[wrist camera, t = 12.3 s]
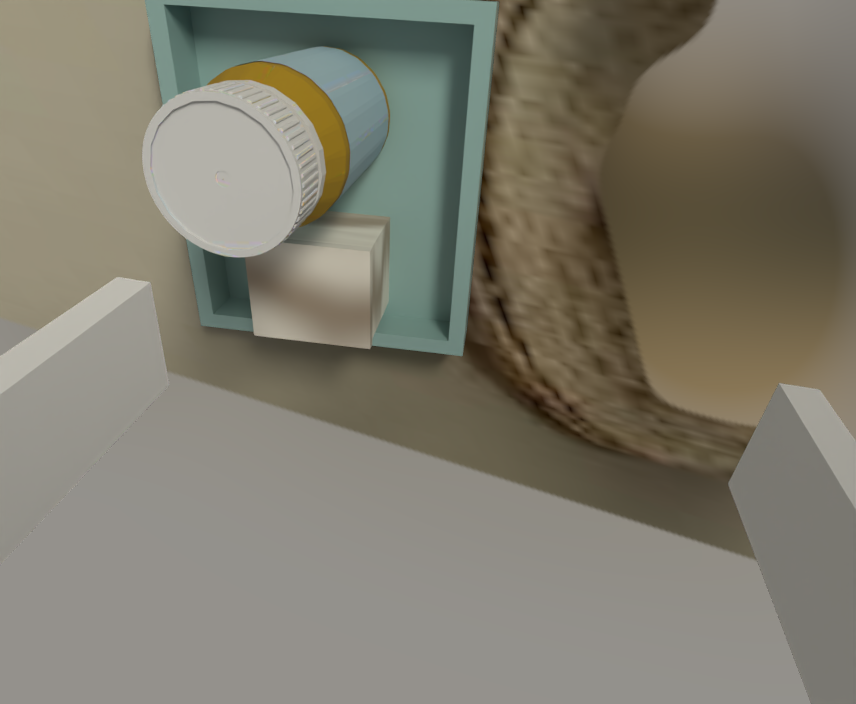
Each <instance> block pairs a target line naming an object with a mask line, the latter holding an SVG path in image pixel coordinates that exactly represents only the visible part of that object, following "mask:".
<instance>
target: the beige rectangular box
mask: <svg viewBox="0 0 856 704" xmlns="http://www.w3.org/2000/svg"><path fill="white" fill-rule="evenodd" d="M389 257H390V217H385V216H375V215H365V214H354V213H344V212H334V211H327V212H326V213H325V214H324V215H322V216H321V217H320V218H318V219H316V220H314V221H313V222H311V223H309V224H307V225H305V226H302V227H298V228H297V229H296V230H295V231H294V232H293V233H292V234H291V235H290V236H289V237H288V238H287V239H286V240H285V241H284V242H283V243H282V244H280V245H279V246H276V247H275V248H274V249H273V250H269V251H268V252H266V253H262V254H260V255H255V256H251V257H245V262H246V270H247V279H248V287H249V295H250V304H251V312H252V320H253V329H254V336H263V337H271V338H280V339H288V340H297V341H305V342H314V343H322V344H331V345H340V346H348V347H357V348H365V349H370V348H371V346H372V339H373V336H374V334H375V332H376V329H377V327H378V325H379V323H380V320H381V318H382V316H383V314H384V311H385V309H386V307H387V304H388V302H389Z"/></svg>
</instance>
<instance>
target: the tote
mask: <svg viewBox="0 0 856 704" xmlns="http://www.w3.org/2000/svg"><path fill="white" fill-rule="evenodd" d="M145 4H146V10H147V15H148V21H149V27H150V33H151V38H152V44H153V50H154V56H155V62H156V67H157V73H158V79H159V85H160V91H161V96H162V102H163V105H164V104H166V103H167V102H168V100H170V99H172V98H175V96H176V95H178V94H182V93H183V92H185V91H189V90H193V89H196V88H200V87H203V86H206V85H207V84H208V83H209V82H210V81H211V80H212V79H214V78H215V77H216V76H218V75H219V74H221V73H222V72H223V71H225V70H227V69H229V68H231V67H234V66H237V65H240V64H244V63H249V62H253V61H257V60H261V59H266V58H270V57H274V56H278V55H283V54H287V53H291V52H296V51H300V50H304V49H308V48H313V47H320V46H327V47H334V48H340V49H343V50H346V51H348V52H350V53H351V54H353V55H355V56H357V57H359V58H360V59H362V60H363V61H364V62H365V63H366V64H367V65H368V66H369V67H370V68H371V69H372V70H373V71H374V73H375V74H376V75H377V77H378V79H379V80H380V82H381V84H382V86H383V88H384V90H385V92H386V95H387V100H388V104H389V109H390V125H389V133H388V137H387V139H386V142H385V144H384V147H383V149H382V151H381V152H380V154H379V155H378V156H377V158H376V159H375V160H374V161H373V162H372V163H371V164H370V166H369V167H368V168H367V169H366V170H365V171H364V172H363V173H362V174H361V175H360V177H359V178H358V179H357V180H356V181H355V182H354V183H353V184H352V185H351V186H350V187H349V188H348V190H347V191H346V192H345V193H344V194H343V195H342V196H341V197H340V198H339V199H338V200H337V201H336V203H335V204H334V205H333V206H332V207H331V208H330V209H329V210H328V211H334V212H344V213H354V214H365V215H375V216H385V217H390V257H389V302H388V304H387V307H386V309H385V311H384V314H383V316H382V318H381V320H380V323H379V325H378V327H377V329H376V332H375V334H374V336H373V339H372V346H380V347H389V348H397V349H406V350H414V351H423V352H431V353H440V354H449V355H457V356H463V350H464V344H465V338H466V332H467V323H468V313H469V303H470V293H471V283H472V273H473V263H474V253H475V243H476V232H477V222H478V212H479V202H480V192H481V182H482V172H483V162H484V152H485V142H486V132H487V122H488V112H489V102H490V92H491V82H492V72H493V62H494V52H495V42H496V32H497V21H498V11H499V2H496V1H480V0H145ZM186 241H187V247H188V253H189V258H190V264H191V270H192V276H193V281H194V287H195V293H196V299H197V305H198V310H199V316H200V322H201V326H209V327H217V328H226V329H234V330H243V331H252V332H254V329H253V320H252V312H251V304H250V295H249V287H248V279H247V270H246V262H245V257H228V256H223V255H219V254H215V253H212V252H209V251H207V250H205V249H203V248H201V247H199V246H197V245H195V244H194V243H192V242H191V241H189V240H188V239H186Z"/></svg>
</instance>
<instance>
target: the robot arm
mask: <svg viewBox="0 0 856 704" xmlns="http://www.w3.org/2000/svg"><path fill="white" fill-rule="evenodd" d="M168 386H169V380H168V375H167V369H166V364H165V358H164V353H163V348H162V342H161V337H160V331H159V326H158V320H157V315H156V310H155V304H154V299H153V293H152V288H151V282H146V281H139V280H133V279H127V278H121V277H117V278H115V279H114V280H112V281H111V282H109V283H108V284H106V285H105V286H103V287H102V288H100V289H99V290H97V291H96V292H95V293H93V294H92V295H90V296H89V297H87V298H86V299H84V300H83V301H81V302H80V303H78V304H77V305H75V306H74V307H72V308H71V309H69V310H68V311H66V312H65V313H63V314H62V315H60V316H59V317H58V318H56V319H55V320H53V321H52V322H50V323H49V324H47V325H46V326H44V327H43V328H41V329H40V330H38V331H37V332H35V333H34V334H33V335H31V336H30V337H28V338H27V339H25V340H24V341H22V342H21V343H19V344H18V345H17V346H15V347H13V348H12V349H10V350H9V351H8V352H6V353H4V354H3V355H2V356H0V565H1V564H2V563H3V561H4V560H5V559H6V558H7V557H8V556H9V555H10V554H11V553H12V552H13V551H14V550H15V549H16V548H17V547H18V545H19V544H20V543H21V542H22V541H23V540H24V539H25V538H26V537H27V536H28V535H29V534H30V533H31V532H32V531H33V530H34V529H35V527H36V526H37V525H38V524H39V523H40V522H41V521H42V520H43V519H44V518H45V517H46V516H47V515H48V514H49V513H50V511H51V510H52V509H53V508H54V507H55V506H56V505H57V504H58V503H59V502H60V501H61V500H62V499H63V498H64V497H65V496H66V495H67V493H68V492H69V491H70V490H71V489H72V488H73V487H74V486H75V485H76V484H77V483H78V482H79V481H80V480H81V479H82V478H83V476H84V475H85V474H86V473H87V472H88V471H89V470H90V469H91V468H92V467H93V466H94V465H95V464H96V463H97V462H98V460H100V458H101V457H102V456H103V455H104V454H105V453H106V452H107V451H108V450H109V449H110V448H111V447H112V446H113V445H114V444H115V443H116V441H117V440H118V439H119V438H120V437H121V436H122V435H123V434H124V433H125V432H126V431H127V430H128V429H129V428H130V427H131V425H132V424H133V423H134V422H135V421H136V420H137V419H138V418H139V417H140V416H141V415H142V414H143V413H144V412H145V411H146V410H147V408H148V407H149V406H150V405H151V404H152V403H153V402H154V401H155V400H156V399H157V398H158V397H159V396H160V395H161V394H162V393H163V392H164V390H165V389H166V388H167V387H168ZM728 485H729V488H730V491H731V493H732V496H733V499H734V501H735V504H736V507H737V509H738V512H739V515H740V517H741V520H742V522H743V525H744V528H745V530H746V533H747V536H748V538H749V541H750V544H751V546H752V549H753V552H754V554H755V557H756V559H757V562H758V565H759V567H760V570H761V572H762V575H763V578H764V580H765V583H766V586H767V589H768V591H769V594H770V596H771V599H772V602H773V604H774V607H775V610H776V612H777V615H778V618H779V620H780V623H781V626H782V628H783V631H784V634H785V636H786V639H787V641H788V644H789V647H790V649H791V652H792V655H793V657H794V660H795V663H796V665H797V668H798V671H799V673H800V676H801V679H802V681H803V683H804V686H805V689H806V692H807V694H808V697H809V700H810V702H811V704H856V441H855V439H854V438H853V437H852V435H851V434H850V432H849V431H848V429H847V428H846V427H845V425H844V424H843V422H842V421H841V420H840V418H839V417H838V415H837V414H836V412H835V411H834V410H833V408H832V406H831V405H830V404H829V402H828V401H827V399H826V398H825V397H824V395H823V394H822V392H821V391H820V390H819V389H813V388H807V387H801V386H795V385H788V384H782V383H779V384H778V386H777V388H776V390H775V392H774V394H773V396H772V398H771V400H770V402H769V404H768V406H767V408H766V410H765V412H764V414H763V416H762V418H761V420H760V422H759V424H758V425H757V427H756V429H755V431H754V433H753V435H752V437H751V439H750V441H749V443H748V445H747V447H746V449H745V451H744V453H743V455H742V457H741V459H740V461H739V463H738V465H737V467H736V469H735V471H734V473H733V475H732V477H731V479H730V481H729V483H728Z"/></svg>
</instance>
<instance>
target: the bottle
mask: <svg viewBox="0 0 856 704" xmlns="http://www.w3.org/2000/svg"><path fill="white" fill-rule="evenodd" d="M389 125H390V109H389V104H388V100H387V95H386V92H385V90H384V88H383V86H382V84H381V82H380V80H379V79H378V77H377V75H376V74H375V73H374V71H373V70H372V69H371V68H370V67H369V66H368V65H367V64H366V63H365V62H364V61H363V60H362V59H360V58H359V57H357V56H355V55H353V54H351V53H350V52H348V51H346V50H343V49H340V48H334V47H327V46H320V47H313V48H308V49H304V50H300V51H296V52H291V53H287V54H283V55H278V56H274V57H270V58H266V59H261V60H257V61H253V62H249V63H244V64H240V65H237V66H234V67H231V68H229V69H227V70H225V71H223V72H222V73H221V74H219V75H218V76H216V77H215V78H214V79H212V80H211V81H210V82H209V83H208V84H207V85H206V86H203V87H200V88H196V89H193V90H189V91H185V92H183V93H182V94H178V95H176V96H175V98H172V99H170V100H168V102H167V103H166V104H164V105H162V107H161V108H160V109H159V110H158V111H157V112H156V114H155V115H154V117H153V118H152V120H151V122H150V124H149V126H148V128H147V131H146V134H145V137H144V142H143V149H142V162H143V170H144V175H145V179H146V183H147V186H148V189H149V191H150V194H151V196H152V198H153V200H154V202H155V204H156V205H157V207H158V209H159V210H160V212H161V213H162V214H163V216H164V217H165V218H166V220H167V221H168V222H169V223H170V224H171V225H172V226H173V227H174V228H175V229H176V230H177V231H178V232H179V233H180V234H181V235H182V236H184V237H185V238H186V239H188V240H189V241H191V242H192V243H194V244H195V245H197V246H199V247H201V248H203V249H205V250H207V251H209V252H212V253H215V254H219V255H223V256H228V257H251V256H255V255H260V254H262V253H266V252H268V251H269V250H273V249H274V248H275V247H276V246H279V245H280V244H282V243H283V242H284V241H285V240H286V239H287V238H288V237H289V236H290V235H291V234H292V233H293V232H294V231H295V230H296V229H297V228H298V227H302V226H305V225H307V224H309V223H311V222H313V221H314V220H316V219H318V218H320V217H321V216H322V215H324V214H325V213H326V212H327V211H328V210H329V209H330V208H331V207H332V206H333V205H334V204H335V203H336V201H337V200H338V199H339V198H340V197H341V196H342V195H343V194H344V193H345V192H346V191H347V190H348V188H349V187H350V186H351V185H352V184H353V183H354V182H355V181H356V180H357V179H358V178H359V177H360V175H361V174H362V173H363V172H364V171H365V170H366V169H367V168H368V167H369V166H370V164H371V163H372V162H373V161H374V160H375V159H376V158H377V156H378V155H379V154H380V152H381V151H382V149H383V147H384V144H385V142H386V139H387V137H388V133H389Z"/></svg>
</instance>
